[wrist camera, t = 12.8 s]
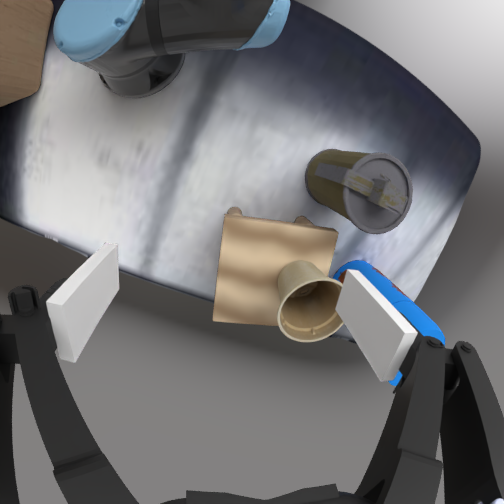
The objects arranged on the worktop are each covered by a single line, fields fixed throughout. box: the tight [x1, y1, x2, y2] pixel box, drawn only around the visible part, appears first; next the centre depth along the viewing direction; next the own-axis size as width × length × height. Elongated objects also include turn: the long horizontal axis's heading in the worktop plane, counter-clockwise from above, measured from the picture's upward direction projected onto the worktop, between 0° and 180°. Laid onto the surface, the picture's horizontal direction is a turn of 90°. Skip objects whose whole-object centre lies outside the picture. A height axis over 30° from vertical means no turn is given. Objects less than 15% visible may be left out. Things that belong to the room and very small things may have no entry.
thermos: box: [333, 260, 445, 386], centre depth 45 cm, size 11×11×25 cm
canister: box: [305, 149, 413, 234], centre depth 40 cm, size 11×10×20 cm
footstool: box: [213, 207, 338, 326], centre depth 47 cm, size 16×16×12 cm
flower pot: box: [277, 260, 344, 342], centre depth 38 cm, size 9×9×9 cm
